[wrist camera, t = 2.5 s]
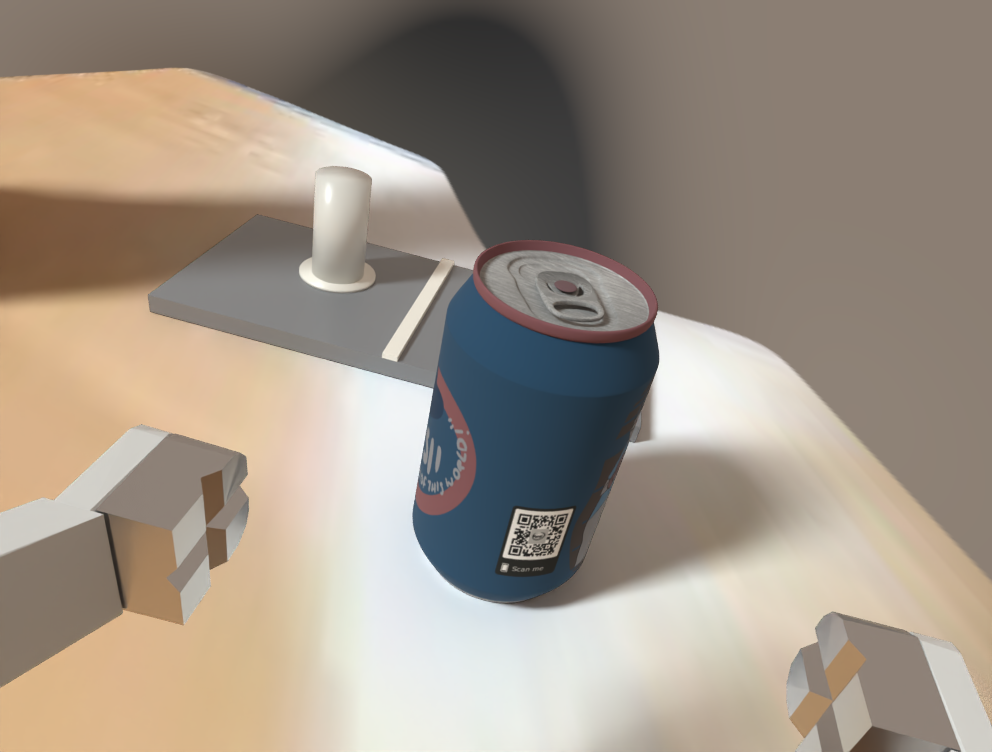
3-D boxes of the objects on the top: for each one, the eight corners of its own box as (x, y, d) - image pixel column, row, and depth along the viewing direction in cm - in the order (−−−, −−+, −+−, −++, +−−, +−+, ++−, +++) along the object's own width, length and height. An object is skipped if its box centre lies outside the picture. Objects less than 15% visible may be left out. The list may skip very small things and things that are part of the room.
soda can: (403, 481, 30) (442, 221, 23) (557, 484, 32) (635, 242, 25) (415, 622, 25) (471, 335, 18) (599, 616, 26) (715, 352, 19)
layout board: (149, 311, 37) (135, 182, 33) (257, 228, 46) (256, 121, 43) (634, 442, 35) (681, 324, 31) (639, 327, 45) (675, 227, 41)
